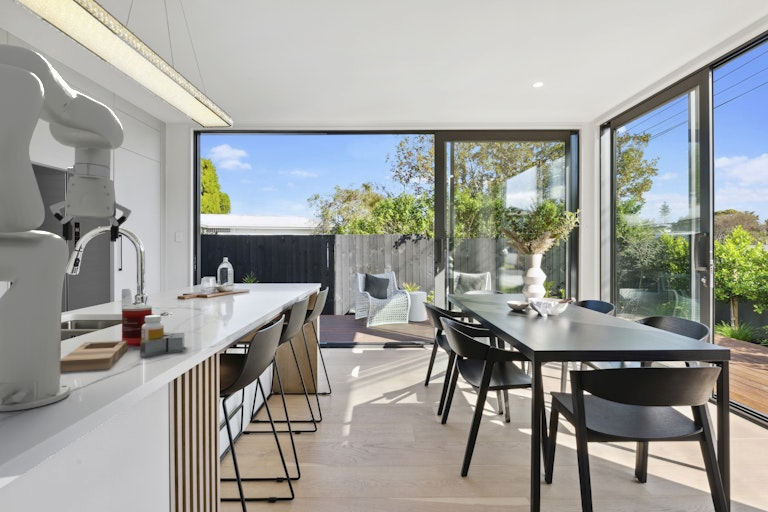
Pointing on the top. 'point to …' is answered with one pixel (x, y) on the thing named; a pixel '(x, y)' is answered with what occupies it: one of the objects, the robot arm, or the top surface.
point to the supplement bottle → (152, 328)
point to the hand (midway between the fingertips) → (91, 241)
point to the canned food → (134, 323)
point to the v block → (162, 344)
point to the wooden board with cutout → (93, 356)
